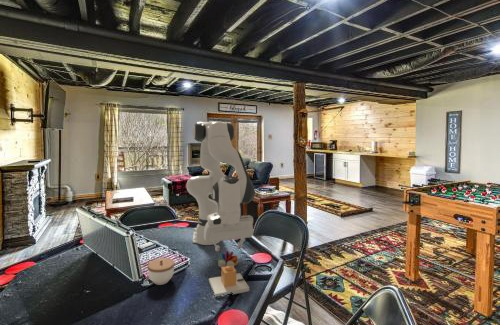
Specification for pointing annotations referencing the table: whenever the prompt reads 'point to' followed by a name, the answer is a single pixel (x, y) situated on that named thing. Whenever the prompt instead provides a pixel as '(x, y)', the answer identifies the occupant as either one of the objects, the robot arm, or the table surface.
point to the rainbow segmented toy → (227, 260)
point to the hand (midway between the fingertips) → (228, 249)
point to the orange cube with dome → (228, 276)
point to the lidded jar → (161, 270)
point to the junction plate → (220, 289)
